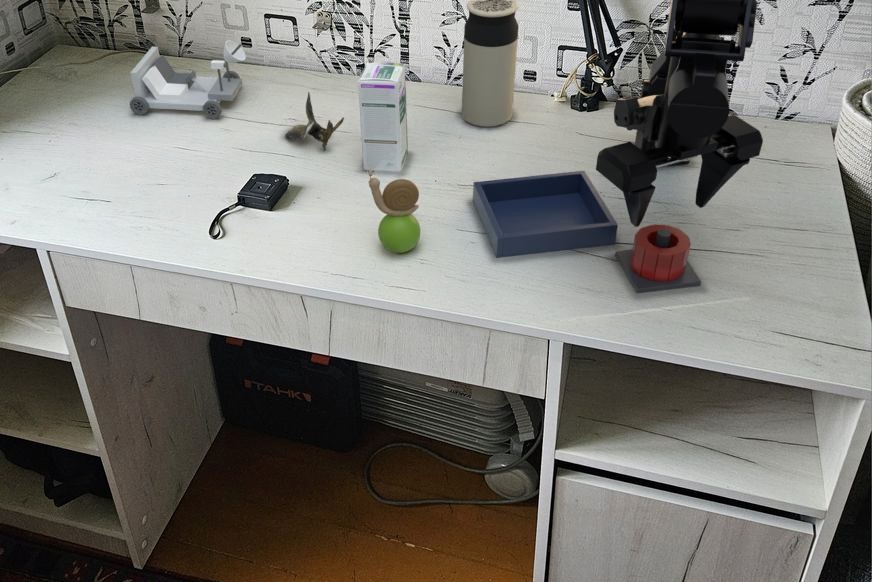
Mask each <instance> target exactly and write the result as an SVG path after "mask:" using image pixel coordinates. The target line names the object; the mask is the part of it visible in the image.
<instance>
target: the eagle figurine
mask: <svg viewBox="0 0 872 582" xmlns="http://www.w3.org/2000/svg"><path fill="white" fill-rule="evenodd" d="M313 111H314V110H313V105H312V101H311V94H310V91H308V92H307V97H306V102H305V114H306V117H307V121H308V122H307V124H306V125H305V124H296V125H294V126H293V127H292V128H291V129H290V130H288V131H287V132H286V133H285V135H284V136H285V137H287V138H288V137H290V138H292V139H294V140H300V139H301V138H302V137H303V139H302V140H306V138H307V137H308V135H309V136H311V137H313V138H314V139H315V140H316V141H317V142H321V146H322V149H323V152H325V151H326V149H327V146H328V142H329V140H330V139H331V137H332V135H333V133H334V132H335V131H337V129H338V128H339V127H340V126H342V124H343V122H344V120H345V117H342V118H341V119H340V120H338V122H337V123H336V124H335V125H334V124H333V123H332V121H331V120H330V119H328V121H327V124H326V128H324V127H322V126H321V124H320V123H318V122H317V120H316V118H315V115H314V112H313Z"/></svg>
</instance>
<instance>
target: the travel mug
mask: <svg viewBox="0 0 872 582" xmlns="http://www.w3.org/2000/svg"><path fill="white" fill-rule="evenodd" d="M466 9H467V10H468V19H467V20H466V21H465V23H464V25H463V26H464V29H463V34H464V35H463V57H462V58H463V59H462V61H463V62H462V64H463V65H462V88H461V89H462V91H461V95H462V96H461V117H462V118H463V120H464V121H466V122H467V123H470V124H472V125H473V126H478V127H488V128H490V127H497V126H501V125H504V124H506V123H509V121H510V120H511V119H512V117H513V111H514V95H515V83H516V80H515V79H516V69H517V55H518V54H517V53H518V38H519V23H518V21H517V19H516V12H517V10H518V9H519V3H518V2H517V1H516V0H468V1H467V3H466Z"/></svg>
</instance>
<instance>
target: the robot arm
mask: <svg viewBox="0 0 872 582" xmlns="http://www.w3.org/2000/svg"><path fill="white" fill-rule="evenodd" d="M757 7H758V0H670V5H669V11H668V19H667V27H666V35H665V43H664V50H663V51H662V52H661V53H660V54H659V55H658V57H656V59H655V60H654V61H653V62H652V63H651V65H650V71H649V76H648V79H643V82H642V85H641V90H640V95H639V98H637V97H636V96H633V97H631V96H625V97H620V98H617V99H616V101H615V104H614V108H613V109H614V110H613V121H614V124H615V126H616V127H620V128H624V129H626V131H633V130H635V131H636V135H635V139H634V143H633V142H632V141H626V142H623V143H619V144H616V145H612V146H608V147H605V148H603V149H601V150H599V152H598V154H597V157H596V158H597V159H596V165H595V171H596V172H598V173H599V174H601V176H603V177H604V178H605V179H606V180H608V181H609V182H610V183H611V184H613V185H614V186H615V187H616V188H617V189H619V190H620V191H621V192H622V194H623V196H624V201H625V205H626V210H627V214H628V217H629V223H631V225H632V226H634V228H637V227H639V226H640V225H641V223H642V221H643V220H644V217H645V215H646V213H647V210H648V207H649V205H650V202H651V200H652V198H653V196H654V193H655V192H656V191H655V190H656V189H657V188H656V185H654V184H653V183H654V182H655V180H656V179H657V175H658V168H662V167H667V166H668V167H669V166H675V165H676V166H677V165H687V164H690V163H691V162H690V160H692V159H696V158H697V157H698V156H700V157H701V166H700V170H699V175H698V182H697V186H696V192H695V206H697V207H698V208H699V209H703V208H704V207H705V206H707V204H708V203H709V202H711V200H712V198H714V196H715V195H716V194H717V193H718V192H719V191H720V190H721V189H722V188H723V187H724V186H725V184H726V183H727V182H728V181H729V180H731V178H733V176H735V175H736V173H737V172H739V171H740V170H741V169H742V168H743V167H744V166H745V165H748V164H749V163H750V162H751V159H752V158H755V157H759V156H760V154H761V150H762V147H763V143H764V138H763V136H762V135H763V134H762V133H761V131H760V129H758V128H756V127H755V126H753V125H752V124H750V123H748V122H747V121H745V120H743V118H741V117H739V116H737V115H735V114H734V113H733V114H730V100H729V88H728V87H729V86H728V77H727V73H726V71H727V65H728V62H729V61H730V62H744V60H745V56H746V55H745V54H746V49H751V47H752V44H753V40H754V32H755V25H756V17H757ZM738 28H739V29H738ZM737 33H738V39H737V41H736V40H733V39H732V40H731V39H723V38H722V37H721V36H727V37H729V36H730V37H732V36H736V35H737ZM736 44H737V45H736Z"/></svg>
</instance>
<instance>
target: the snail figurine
mask: <svg viewBox="0 0 872 582" xmlns="http://www.w3.org/2000/svg"><path fill="white" fill-rule="evenodd" d="M367 174H368V176H369V180H368V182H367V183H368V187H369V188H370V191H371V195H372V199H373V202H374V204H375V205H376V207H377V209H378V210H379V211H380V212H381V213H383V214H386V215H385V216H384V217H383V218H382V219H381V220H380V222H379V225H378V229H377V235H378V238H379V241H380V243H381V244H382V246H383V247H384V248H385V249H386V250H387V251H390V252H392V253H396V254H403V253H406V252H409V251H411V250H412V249H414V248H415V247H416V245H417V244H418V243H419V240H420V238H421V226H420V222H419V221H418V219H417V218H416V216H414V215H413V213H415V212H416V211H417V210H418V208H419V207H420V205H419V204H417V203H418V201H419V197H420V191H419V188H418V187H417V185H416V184H415V183H414V182H413V181H411V180H409V179H405V178H398V179H394V180H392V181H390V182H389V183H388V184H386V186H385V187H384V189H383V191H382V192H381V188H380V186H381V182H380V180H379V178H377V177H372V176H373V175H374V174H373V171H372V169H369V170H368V171H367Z"/></svg>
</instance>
